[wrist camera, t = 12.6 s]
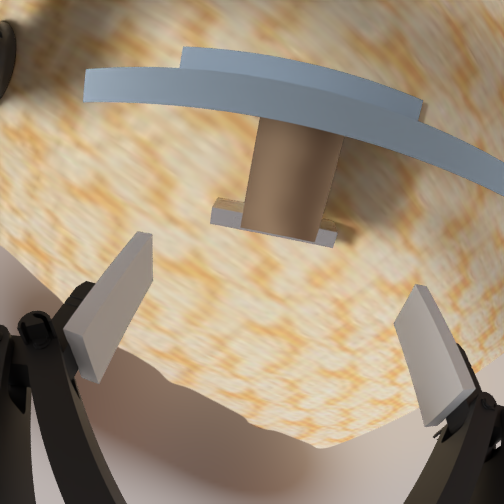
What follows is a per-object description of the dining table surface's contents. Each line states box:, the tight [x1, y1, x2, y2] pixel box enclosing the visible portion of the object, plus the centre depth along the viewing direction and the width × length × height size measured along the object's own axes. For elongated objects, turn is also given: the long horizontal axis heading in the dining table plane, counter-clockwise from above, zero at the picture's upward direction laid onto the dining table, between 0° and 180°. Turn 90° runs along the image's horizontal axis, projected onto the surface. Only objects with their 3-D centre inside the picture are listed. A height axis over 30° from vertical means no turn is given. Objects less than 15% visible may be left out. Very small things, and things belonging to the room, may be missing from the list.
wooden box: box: [240, 117, 344, 242], centre depth 28 cm, size 6×11×10 cm, turn 170°
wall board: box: [83, 47, 504, 196], centre depth 20 cm, size 26×5×18 cm, turn 80°
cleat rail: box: [210, 198, 338, 248], centre depth 35 cm, size 14×2×3 cm, turn 80°
